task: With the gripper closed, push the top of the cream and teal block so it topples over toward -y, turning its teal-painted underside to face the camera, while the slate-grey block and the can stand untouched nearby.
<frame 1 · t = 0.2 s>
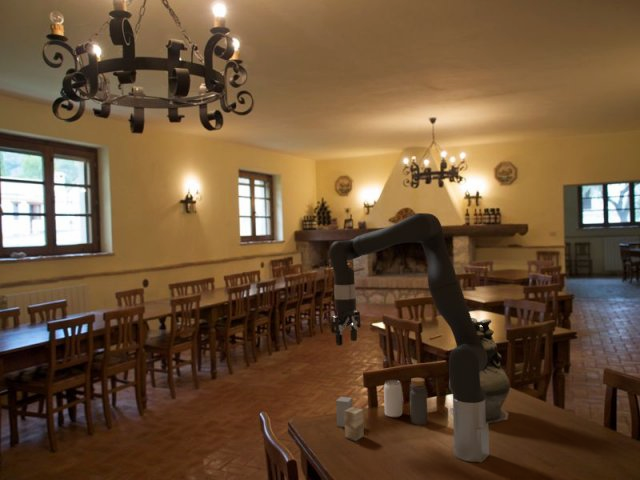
hand: (346, 342, 175), 29 cm above the table, fingers open, 8 cm apart
bottle: (419, 422, 176), on the table
can: (393, 414, 184), on the table
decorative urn: (479, 415, 180), on the table
grey block: (345, 424, 175), on the table
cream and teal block: (354, 437, 164), on the table
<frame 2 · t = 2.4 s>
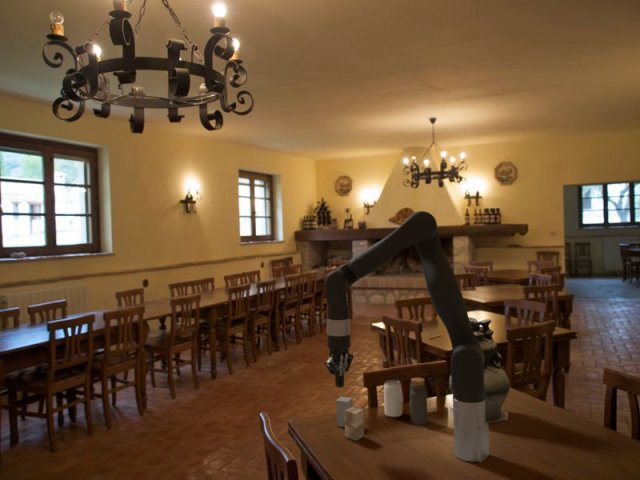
hand: (340, 386, 159), 19 cm above the table, fingers closed
nothing on the table moved.
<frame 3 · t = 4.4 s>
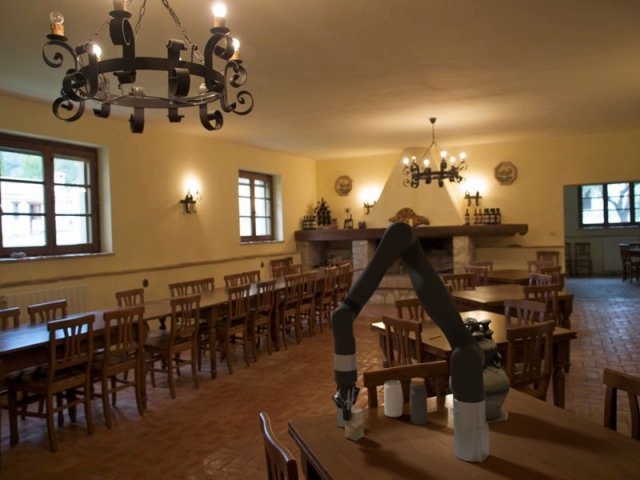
hand: (347, 419, 161), 7 cm above the table, fingers closed
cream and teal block: (354, 437, 164), on the table, touching gripper
everything else where it was.
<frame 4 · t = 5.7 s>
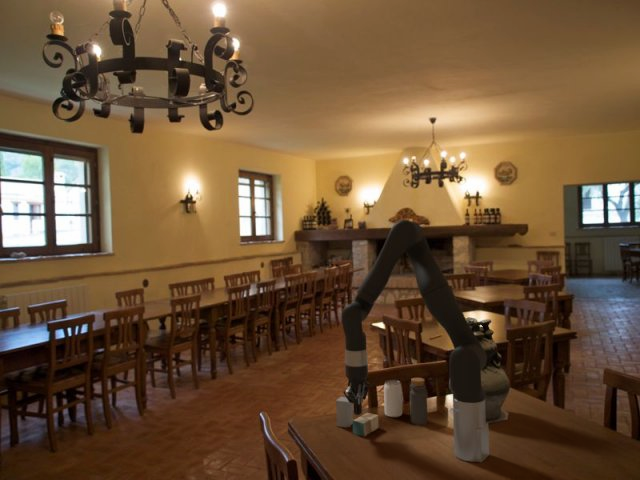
hand: (357, 414, 166), 7 cm above the table, fingers closed
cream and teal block: (358, 428, 166), point 2 cm above the table, tilted 90°
everything else where it was.
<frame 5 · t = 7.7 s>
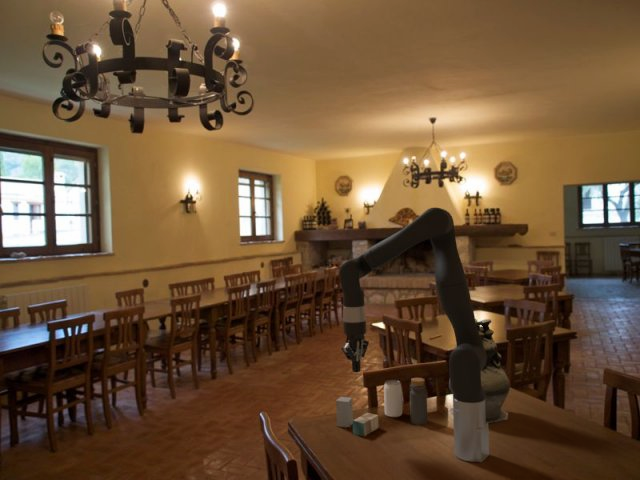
hand: (356, 371, 164), 22 cm above the table, fingers closed
nothing on the table moved.
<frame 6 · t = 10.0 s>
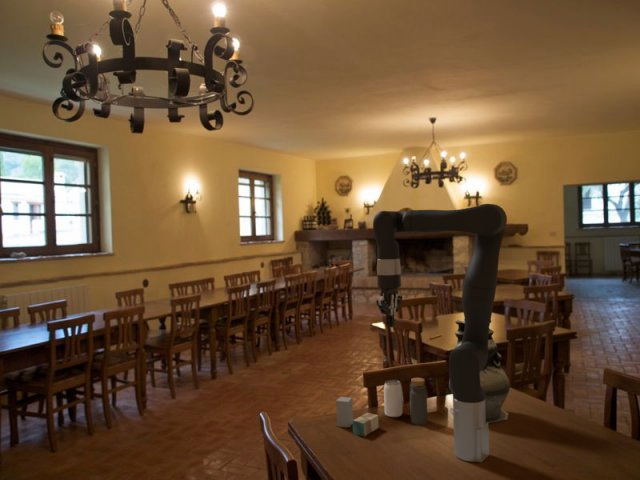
hand: (390, 326, 160), 37 cm above the table, fingers closed
nothing on the table moved.
at the end: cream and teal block tilted 90°; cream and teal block inside the target area (5.3 cm from its centre), point 2.1 cm above the table; grey block moved 0.0 cm from its start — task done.
